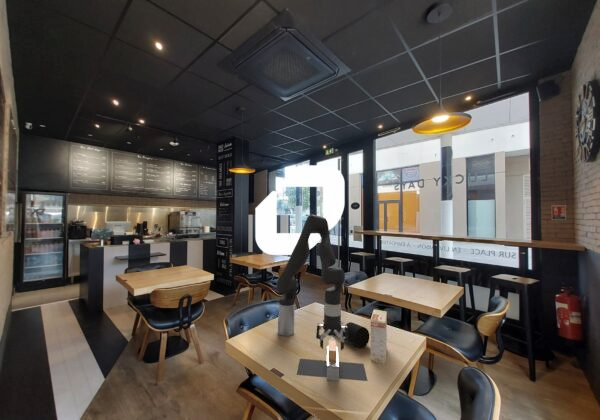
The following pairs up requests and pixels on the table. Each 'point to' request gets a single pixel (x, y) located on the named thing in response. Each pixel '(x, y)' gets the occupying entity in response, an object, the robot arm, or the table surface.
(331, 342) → the plug
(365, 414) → the table surface
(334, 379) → the housing
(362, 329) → the black white tapered bottle
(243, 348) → the table surface
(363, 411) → the table surface
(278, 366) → the table surface
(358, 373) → the mat
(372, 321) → the coffeecake box
